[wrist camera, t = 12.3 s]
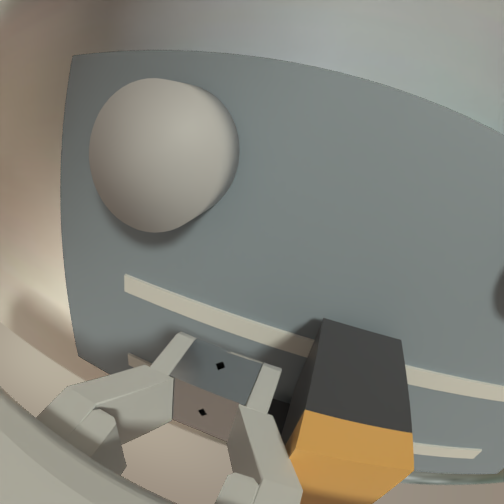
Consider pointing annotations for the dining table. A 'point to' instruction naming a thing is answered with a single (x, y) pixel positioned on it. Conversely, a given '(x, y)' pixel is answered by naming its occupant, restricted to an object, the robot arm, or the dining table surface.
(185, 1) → the dining table surface
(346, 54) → the dining table surface
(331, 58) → the dining table surface
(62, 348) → the dining table surface
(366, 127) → the console
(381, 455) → the fader orange
